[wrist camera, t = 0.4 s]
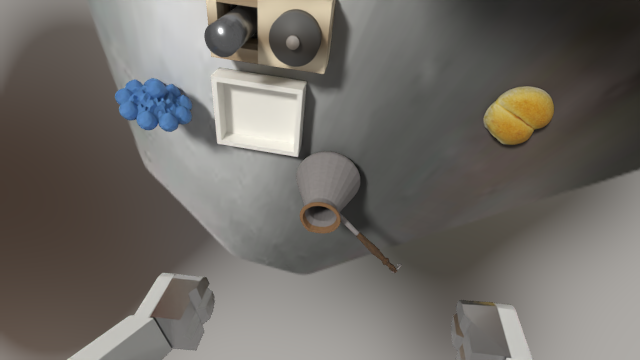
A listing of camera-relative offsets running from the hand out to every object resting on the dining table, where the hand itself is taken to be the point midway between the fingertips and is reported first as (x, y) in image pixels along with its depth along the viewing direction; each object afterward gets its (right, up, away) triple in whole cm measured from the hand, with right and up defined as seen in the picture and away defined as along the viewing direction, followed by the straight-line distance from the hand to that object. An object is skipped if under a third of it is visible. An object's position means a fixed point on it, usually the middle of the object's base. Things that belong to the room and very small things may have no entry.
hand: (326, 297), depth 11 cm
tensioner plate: (-6, +26, +38) cm, 47 cm away
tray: (-10, +16, +47) cm, 50 cm away
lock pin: (-10, +27, +38) cm, 48 cm away
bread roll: (+29, +14, +42) cm, 53 cm away
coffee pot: (+6, +3, +54) cm, 54 cm away
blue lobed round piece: (-24, +20, +47) cm, 56 cm away
